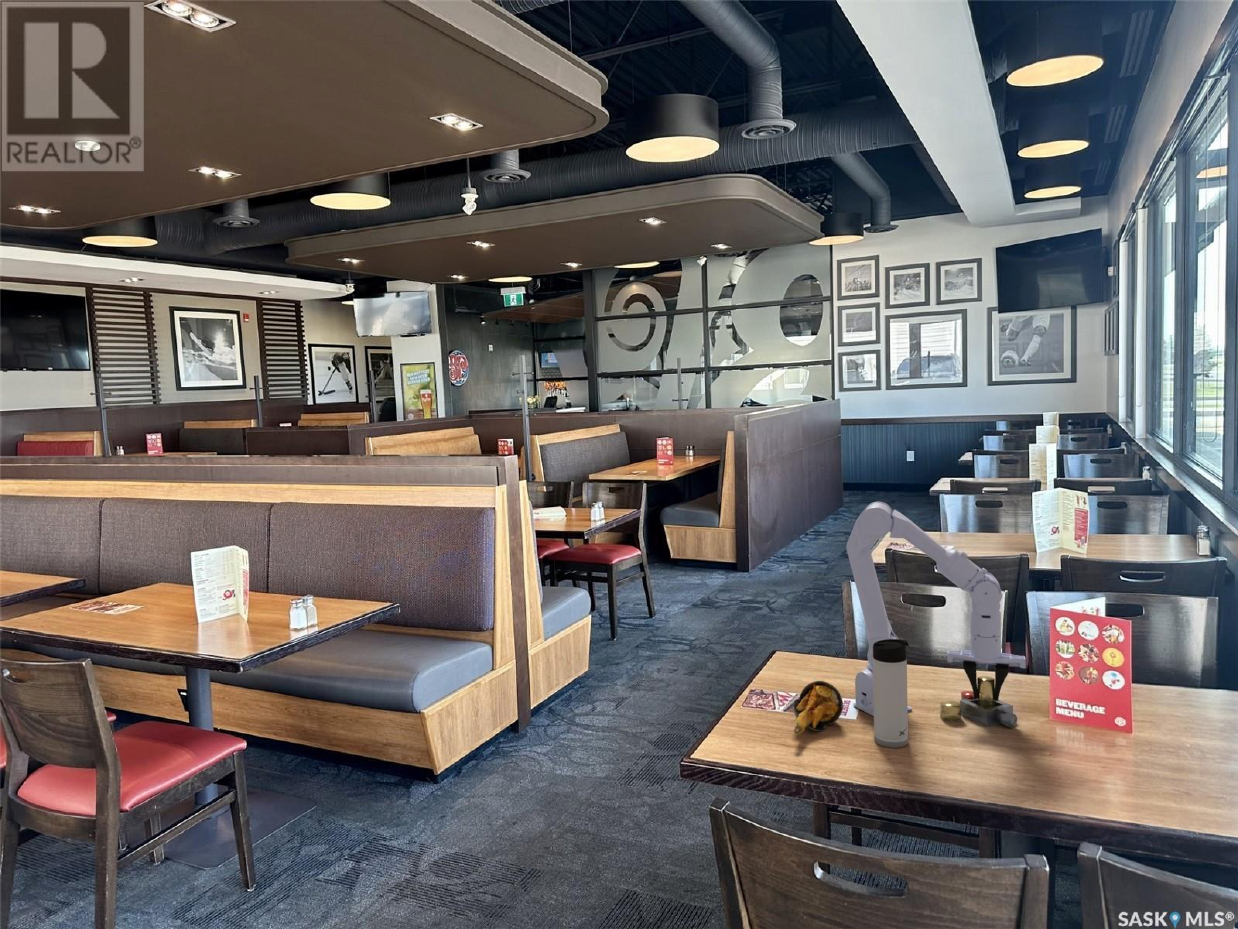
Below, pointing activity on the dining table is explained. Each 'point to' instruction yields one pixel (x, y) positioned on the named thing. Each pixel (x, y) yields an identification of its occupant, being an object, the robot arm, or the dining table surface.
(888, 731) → the travel mug
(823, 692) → the fried food
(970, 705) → the valve body
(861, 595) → the robot arm
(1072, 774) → the dining table surface
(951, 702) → the brass union nut
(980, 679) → the brass nipple
